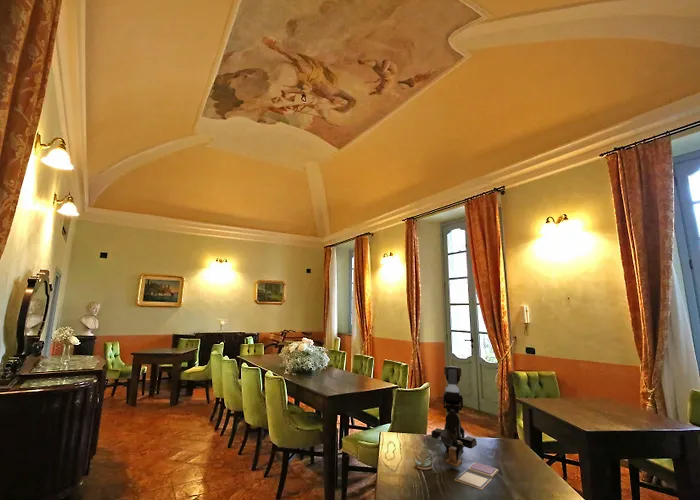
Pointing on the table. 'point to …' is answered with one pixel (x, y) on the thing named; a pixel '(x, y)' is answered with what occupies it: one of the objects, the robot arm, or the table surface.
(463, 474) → the marked card
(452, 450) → the stamp
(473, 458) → the table surface
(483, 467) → the ink pad
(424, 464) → the pacifier
